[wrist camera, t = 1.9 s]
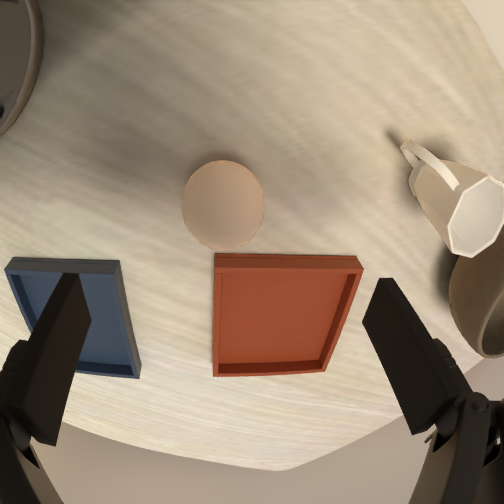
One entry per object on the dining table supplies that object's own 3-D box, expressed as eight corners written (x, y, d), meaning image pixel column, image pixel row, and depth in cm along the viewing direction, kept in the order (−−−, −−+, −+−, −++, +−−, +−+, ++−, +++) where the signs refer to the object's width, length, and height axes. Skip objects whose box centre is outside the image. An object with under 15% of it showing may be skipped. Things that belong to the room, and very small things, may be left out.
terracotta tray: (214, 253, 28) (215, 267, 26) (356, 255, 30) (364, 268, 28) (212, 362, 36) (213, 376, 34) (320, 358, 38) (324, 371, 36)
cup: (422, 224, 28) (468, 272, 22) (359, 163, 25) (409, 205, 18) (464, 174, 26) (519, 211, 19) (410, 102, 22) (474, 125, 15)
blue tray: (13, 257, 26) (3, 269, 24) (119, 260, 27) (114, 274, 25) (53, 356, 34) (49, 368, 32) (141, 365, 35) (139, 379, 34)
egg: (264, 156, 24) (285, 197, 17) (248, 219, 26) (260, 279, 20) (192, 143, 22) (181, 180, 16) (181, 209, 25) (170, 267, 19)
